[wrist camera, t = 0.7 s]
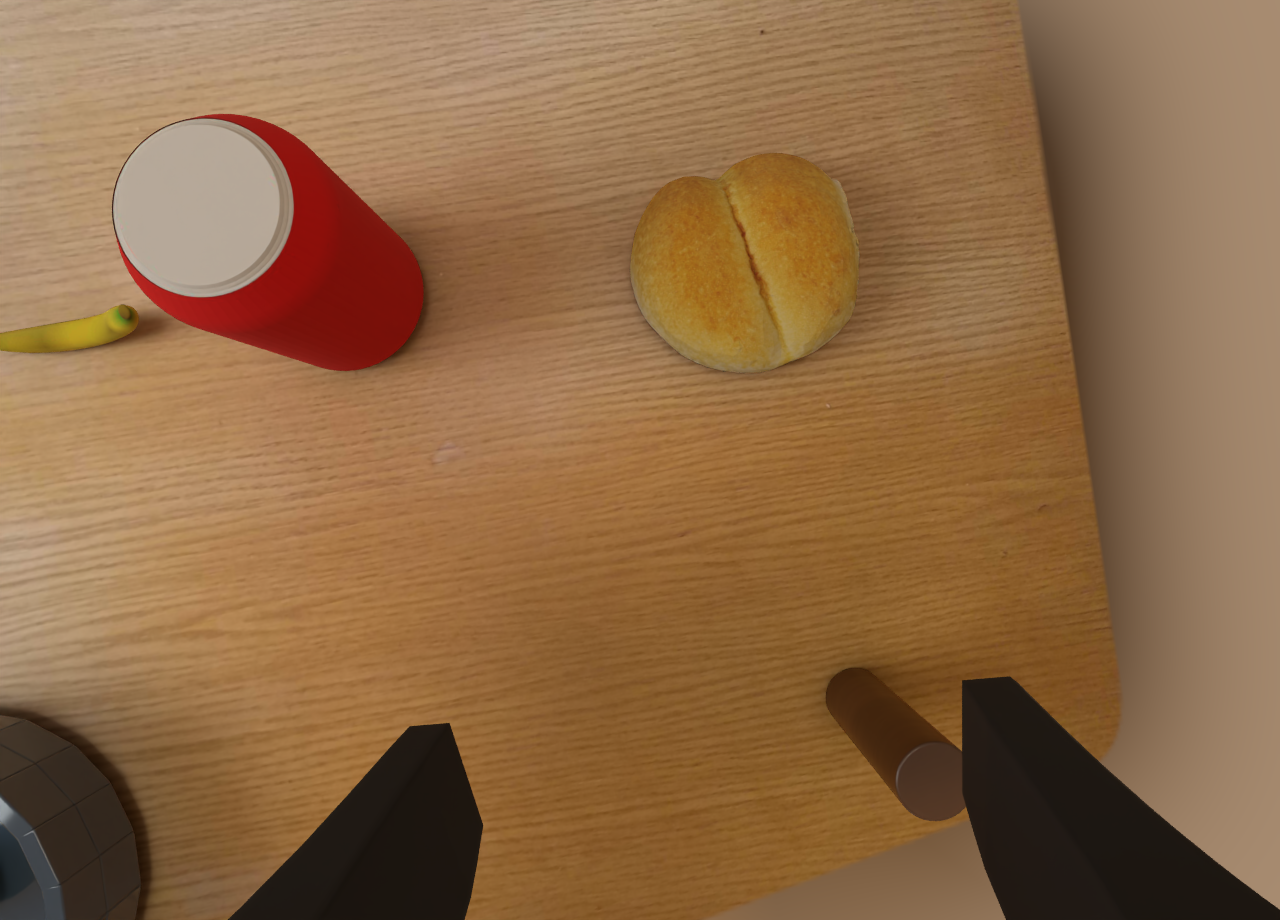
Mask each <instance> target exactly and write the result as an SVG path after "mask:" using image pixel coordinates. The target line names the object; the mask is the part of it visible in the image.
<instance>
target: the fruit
mask: <svg viewBox="0 0 1280 920" xmlns="http://www.w3.org/2000/svg"><path fill="white" fill-rule="evenodd" d="M138 322H139V317H138V313H137V311H136V310H135V309H134V308H132V307H130V306H126V305H123V304H122V305H120V306H115V307H113V308H111V309H110V310H108V311H107V312H105V313H103V314H100V315H96V316H93V317H89V318H84V319H78V320H73V321H67V322H61V323H55V324H49V325H43V326H37V327H31V328H26V329H20V330H14V331H9V332H4V333H0V350H1V351H10V352H25V353H47V352H62V351H70V350H77V349H83V348H89V347H93V346H98V345H102V344H105V343H109V342H112V341H114V340H117V339H119V338H122V337H124V336H126V335H128V334H129V333H131V332H132V331H133V330H134V329H135V328H136V327H137V325H138Z"/></svg>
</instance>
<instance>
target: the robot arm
mask: <svg viewBox="0 0 1280 920" xmlns="http://www.w3.org/2000/svg"><path fill="white" fill-rule="evenodd" d="M962 794H963V797H964V801H965V804H966V808H967V811H968V814H969V818H970V821H971V825H972V828H973V832H974V835H975V838H976V841H977V845H978V848H979V851H980V854H981V858H982V861H983V864H984V867H985V870H986V873H987V875H988V877H989V880H990V882H991V885H992V887H993V889H994V892H995V894H996V897H997V899H998V901H999V904H1000V906H1001V909H1002V911H1003V913H1004V916H1005V918H1006V920H1280V910H1279V909H1278V908H1277V907H1275V906H1274V905H1273V904H1271V903H1270V902H1268V901H1267V900H1266V899H1264V898H1263V897H1261V896H1260V895H1259V894H1258V893H1256V892H1255V891H1254V890H1252V889H1251V888H1250V887H1248V886H1247V885H1246V884H1244V883H1243V882H1241V881H1240V880H1239V879H1238V878H1236V877H1235V876H1234V875H1232V874H1231V873H1230V872H1229V871H1227V870H1226V869H1225V868H1223V867H1222V866H1221V865H1220V864H1218V863H1217V862H1216V861H1214V860H1213V859H1212V858H1211V857H1210V856H1208V855H1207V854H1206V853H1205V852H1203V851H1202V850H1201V849H1200V848H1198V847H1197V846H1196V845H1195V844H1194V843H1192V842H1191V841H1190V840H1189V839H1187V838H1186V837H1185V836H1183V834H1181V833H1180V832H1179V831H1178V830H1176V829H1175V828H1174V827H1173V826H1171V825H1170V824H1169V823H1168V822H1167V821H1165V820H1164V819H1163V818H1162V817H1161V816H1160V815H1158V814H1157V813H1156V812H1155V811H1154V810H1153V809H1152V808H1150V807H1149V806H1148V805H1147V804H1146V803H1145V802H1144V801H1142V800H1141V799H1140V798H1139V797H1138V796H1137V795H1136V794H1134V793H1133V792H1132V791H1131V790H1130V789H1129V788H1128V787H1127V786H1125V785H1124V784H1123V783H1122V782H1121V781H1120V780H1119V779H1118V778H1117V777H1115V776H1114V775H1113V774H1112V773H1111V772H1110V771H1109V770H1108V769H1106V768H1105V767H1104V766H1103V765H1102V764H1101V763H1100V762H1099V761H1098V760H1097V759H1096V758H1095V757H1093V756H1092V755H1091V754H1090V753H1089V752H1088V751H1087V750H1086V749H1085V748H1084V747H1083V746H1082V745H1081V744H1080V743H1079V742H1078V741H1076V740H1075V739H1074V738H1073V737H1072V736H1071V735H1070V734H1069V733H1068V732H1067V731H1066V730H1065V729H1064V728H1063V727H1062V726H1061V725H1060V724H1059V723H1058V722H1057V721H1056V720H1055V719H1054V718H1053V717H1052V716H1051V715H1050V714H1049V713H1048V712H1047V711H1046V710H1045V709H1043V708H1042V707H1041V706H1040V705H1039V704H1038V703H1037V702H1036V701H1035V700H1034V699H1033V698H1032V697H1031V696H1030V695H1029V694H1028V693H1027V692H1026V691H1025V690H1024V689H1023V688H1022V687H1021V686H1020V685H1019V684H1018V683H1017V682H1016V681H1015V680H1013V679H1012V678H1011V677H997V678H985V679H973V680H962ZM482 829H483V823H482V820H481V817H480V814H479V811H478V808H477V805H476V802H475V799H474V796H473V793H472V790H471V787H470V784H469V781H468V778H467V775H466V772H465V769H464V766H463V763H462V760H461V757H460V754H459V751H458V748H457V745H456V742H455V738H454V735H453V732H452V729H451V726H450V723H444V724H432V725H420V726H410V727H409V728H408V729H407V730H406V731H405V732H404V733H403V734H402V735H401V736H400V737H399V738H398V739H397V741H396V742H395V743H394V744H393V745H392V746H391V747H390V748H389V749H388V751H387V752H386V753H385V754H384V755H383V756H382V757H381V758H380V759H379V761H378V762H377V763H376V764H375V765H374V766H373V767H372V768H371V770H370V771H369V772H368V773H367V774H366V775H365V776H364V778H363V779H362V780H361V781H360V782H359V783H358V784H357V785H356V787H355V788H354V789H353V790H352V791H351V792H350V793H349V794H348V796H347V797H346V798H345V799H344V800H343V801H342V802H341V803H340V804H339V805H338V806H337V808H336V809H335V810H334V811H333V812H332V813H331V814H330V815H329V816H328V817H327V819H326V820H325V821H324V822H323V823H322V824H321V825H320V826H319V827H318V828H317V829H316V831H315V832H314V833H313V834H312V835H311V836H310V837H309V838H308V839H307V840H306V841H305V843H304V844H303V845H302V846H301V847H300V848H299V849H298V850H297V851H296V852H295V853H294V854H293V855H292V856H291V857H290V858H289V859H288V860H287V861H286V862H285V863H284V864H283V865H282V866H281V867H280V868H279V869H278V870H277V871H276V872H275V873H274V874H273V875H272V876H271V877H270V878H269V879H268V880H267V881H266V882H265V883H264V884H263V885H262V886H261V887H260V888H259V889H258V890H257V891H256V892H255V893H254V894H253V895H252V896H251V897H250V898H249V899H248V901H247V902H246V903H245V904H244V905H243V906H242V907H240V908H239V909H238V910H237V911H236V912H235V913H234V914H233V915H232V916H231V917H230V918H229V919H228V920H465V916H466V913H467V909H468V906H469V902H470V898H471V894H472V888H473V883H474V877H475V872H476V867H477V861H478V854H479V848H480V842H481V835H482Z"/></svg>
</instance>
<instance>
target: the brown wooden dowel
mask: <svg viewBox="0 0 1280 920" xmlns="http://www.w3.org/2000/svg"><path fill="white" fill-rule="evenodd" d="M826 703H827V707H828V710H829V712H830V713H831V715H832V716H833V717H834V719H835V720H836V721H837V722H838V724H839V725H840V726H841V727H842V729H843V730H844V731H845V733H846V734H847V735H848V736H849V738H850V739H851V740H852V741H853V743H854V744H855V745H856V746H857V748H858V749H859V750H860V751H861V753H862V754H863V755H864V757H865V758H866V759H867V760H868V762H869V763H870V764H871V765H872V767H873V768H874V769H875V770H876V772H877V773H878V774H879V775H880V777H881V778H882V779H883V780H884V782H885V783H886V784H887V786H888V787H889V788H890V789H891V791H892V792H893V793H894V794H895V796H896V797H897V798H898V799H899V801H900V802H901V803H902V804H903V806H904V807H905V808H906V809H907V810H908V811H909V812H910V813H912V814H913V815H915V816H917V817H919V818H921V819H924V820H929V821H942V820H946V819H949V818H952V817H954V816H956V815H957V814H958V813H960V812H961V811H962V810H963V809H964V808H965V807H966V804H965V801H964V797H963V794H962V751H961V750H959V749H958V748H957V747H956V746H955V745H954V744H953V743H951V742H950V741H949V740H948V739H947V738H946V737H945V736H943V735H942V734H941V733H940V732H939V731H938V730H936V729H935V728H934V727H933V726H932V725H931V724H930V723H928V722H927V721H926V720H925V719H924V718H923V717H922V716H920V715H919V714H918V713H917V712H916V711H915V710H914V709H912V708H911V707H910V706H909V705H908V704H907V703H905V702H904V701H903V700H902V699H901V698H900V697H899V696H897V695H896V694H895V693H894V692H893V691H892V690H891V689H889V688H888V687H887V686H886V685H885V684H884V683H883V682H881V681H880V680H879V679H878V678H877V677H876V676H874V675H873V674H872V673H870V672H869V671H867V670H864V669H859V668H851V669H847V670H844V671H842V672H840V673H838V674H837V675H836V676H835V677H834V678H833V679H832V680H831V682H830V683H829V686H828V688H827V692H826Z"/></svg>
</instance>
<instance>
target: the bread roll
mask: <svg viewBox="0 0 1280 920" xmlns="http://www.w3.org/2000/svg"><path fill="white" fill-rule="evenodd" d="M859 255H860V252H859V240H858V238H857V236H856V235H855V232H854V225H853V221H852V218H851V214H850V211H849V208H848V203H847V199H846V195H845V192H844V191H843V188H842V186H841V184H840V182H839V181H838V180H837V179H832V178H830V177H829V176H827V175H826V174H825V173H824V172H823V171H822V170H821V169H820V168H818V167H817V166H815V165H814V164H812V163H811V162H809V161H807V160H805V159H803V158H800V157H797V156H793V155H789V154H783V153H767V154H760V155H756V156H753V157H750V158H747V159H745V160H743V161H741V162H739V163H737V164H735V165H733V166H732V167H731V168H730V169H729V170H728V171H726V172H725V173H724V174H723V175H722V176H721V177H720V178H719V179H717V180H710V179H708V178H705V177H698V176H691V177H682V178H679V179H677V180H674V181H672V182H669V183H668V184H667V185H665V186H664V187H662V188H661V189H660V191H659V192H658V193H657V194H656V195H655V196H654V197H653V198H652V200H651V202H650V203H649V205H648V206H647V208H646V210H645V212H644V214H643V215H642V217H641V220H640V222H639V224H638V227H637V230H636V232H635V236H634V242H633V248H632V253H631V263H630V277H631V284H632V288H633V291H634V296H635V298H636V301H637V303H638V306H639V308H640V311H641V313H642V314H643V316H644V317H645V319H646V320H647V322H648V323H649V324H650V325H651V326H652V327H653V329H654V330H655V331H656V332H657V333H658V334H659V335H660V336H661V337H662V338H663V339H664V340H665V341H666V342H667V343H668V344H669V345H670V346H671V347H672V348H674V349H675V350H677V351H678V352H679V353H680V354H681V355H682V356H684V357H686V358H688V359H690V360H692V361H694V362H696V363H698V364H702V365H704V366H706V367H709V368H713V369H718V370H722V371H730V372H739V373H757V372H765V371H768V370H772V369H775V368H777V367H779V366H782V365H784V364H786V363H788V362H791V361H795V360H797V359H799V358H802V357H805V356H807V355H809V354H811V353H813V352H814V351H816V350H818V349H819V348H821V347H822V346H823V345H825V344H826V343H827V342H829V341H830V340H831V339H832V338H833V337H834V336H836V335H837V334H838V333H839V332H840V331H841V329H842V328H843V327H844V326H845V325H846V323H847V322H848V321H849V320H850V318H851V316H852V314H853V310H854V307H855V303H856V298H857V285H858V283H859V280H858V276H859V264H858V263H859V257H860V256H859Z"/></svg>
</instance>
